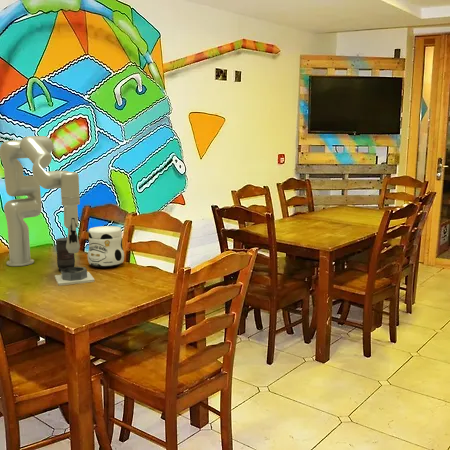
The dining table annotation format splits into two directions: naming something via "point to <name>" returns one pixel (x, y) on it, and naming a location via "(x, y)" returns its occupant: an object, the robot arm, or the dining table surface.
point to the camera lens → (64, 255)
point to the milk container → (105, 246)
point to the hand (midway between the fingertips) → (72, 242)
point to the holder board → (66, 282)
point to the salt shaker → (72, 244)
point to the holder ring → (73, 273)
